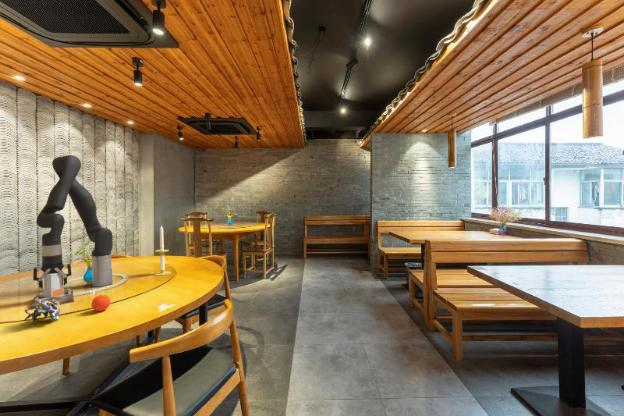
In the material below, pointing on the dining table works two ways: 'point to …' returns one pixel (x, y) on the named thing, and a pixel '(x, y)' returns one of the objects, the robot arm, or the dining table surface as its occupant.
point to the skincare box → (53, 285)
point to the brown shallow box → (62, 299)
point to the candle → (162, 255)
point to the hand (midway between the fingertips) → (53, 286)
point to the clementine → (101, 302)
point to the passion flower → (45, 310)
